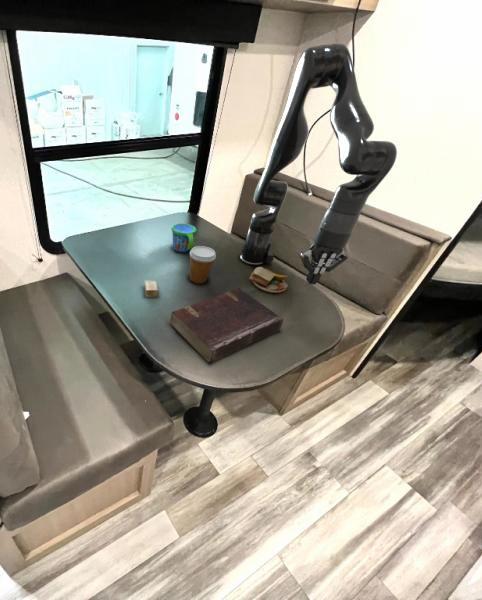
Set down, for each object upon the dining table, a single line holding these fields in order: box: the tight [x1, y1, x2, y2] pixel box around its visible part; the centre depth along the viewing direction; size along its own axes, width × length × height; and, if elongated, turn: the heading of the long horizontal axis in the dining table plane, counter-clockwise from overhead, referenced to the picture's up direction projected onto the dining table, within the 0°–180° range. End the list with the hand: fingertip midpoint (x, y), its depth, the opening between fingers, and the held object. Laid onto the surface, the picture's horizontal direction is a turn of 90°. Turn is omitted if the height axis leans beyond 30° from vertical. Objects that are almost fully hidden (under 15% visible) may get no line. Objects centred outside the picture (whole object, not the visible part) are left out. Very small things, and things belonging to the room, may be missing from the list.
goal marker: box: [143, 280, 159, 298], centre depth 113 cm, size 4×6×3 cm, turn 3°
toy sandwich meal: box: [249, 266, 289, 294], centre depth 119 cm, size 12×14×5 cm
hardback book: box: [169, 287, 284, 364], centre depth 98 cm, size 29×19×5 cm, turn 120°
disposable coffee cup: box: [189, 245, 217, 284], centre depth 118 cm, size 10×10×12 cm
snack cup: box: [170, 222, 197, 253], centre depth 139 cm, size 16×10×10 cm
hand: (310, 282), depth 91 cm, fingers closed
